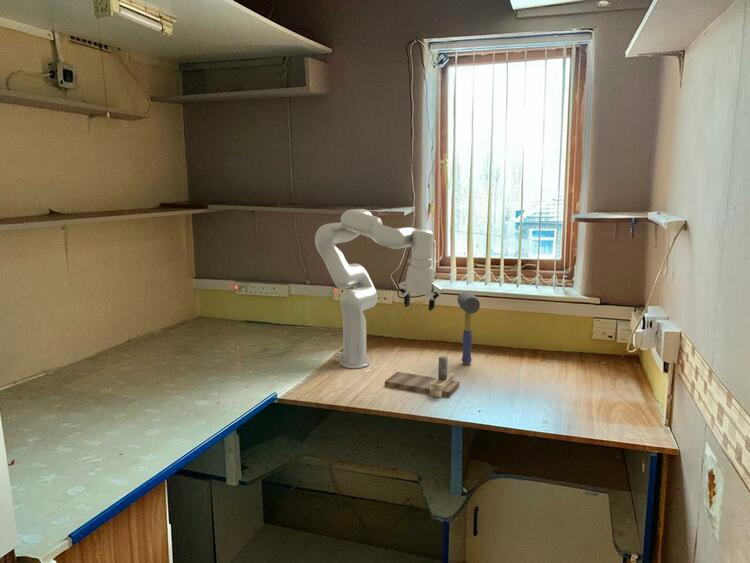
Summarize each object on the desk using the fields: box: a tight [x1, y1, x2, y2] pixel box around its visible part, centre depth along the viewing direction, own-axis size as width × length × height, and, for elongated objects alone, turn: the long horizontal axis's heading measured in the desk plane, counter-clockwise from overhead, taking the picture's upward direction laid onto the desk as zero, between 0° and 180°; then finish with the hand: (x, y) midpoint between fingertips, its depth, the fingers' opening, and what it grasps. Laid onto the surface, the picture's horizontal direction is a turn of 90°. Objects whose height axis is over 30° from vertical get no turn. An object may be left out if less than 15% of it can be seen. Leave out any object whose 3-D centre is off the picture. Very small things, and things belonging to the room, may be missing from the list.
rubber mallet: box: [457, 291, 481, 365], centre depth 236 cm, size 12×8×30 cm, turn 4°
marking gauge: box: [429, 355, 455, 398], centre depth 208 cm, size 4×15×12 cm, turn 155°
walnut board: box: [384, 371, 460, 398], centre depth 213 cm, size 25×12×2 cm, turn 65°
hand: (419, 307), depth 216 cm, fingers open, 9 cm apart
